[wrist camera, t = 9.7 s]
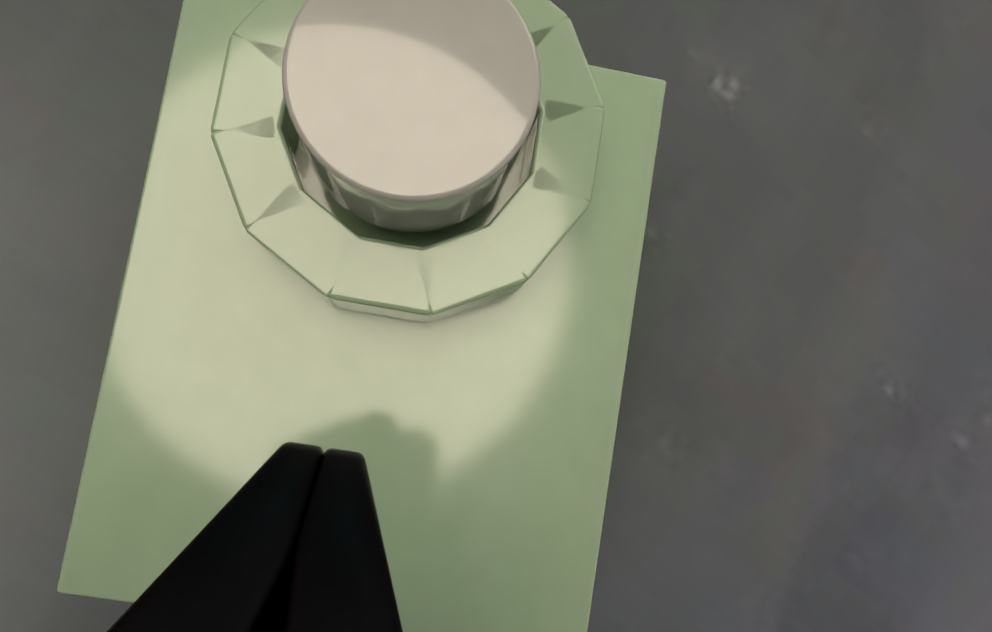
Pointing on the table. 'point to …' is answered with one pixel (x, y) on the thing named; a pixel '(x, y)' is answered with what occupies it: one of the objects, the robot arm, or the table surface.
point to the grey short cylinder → (411, 104)
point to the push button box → (374, 336)
